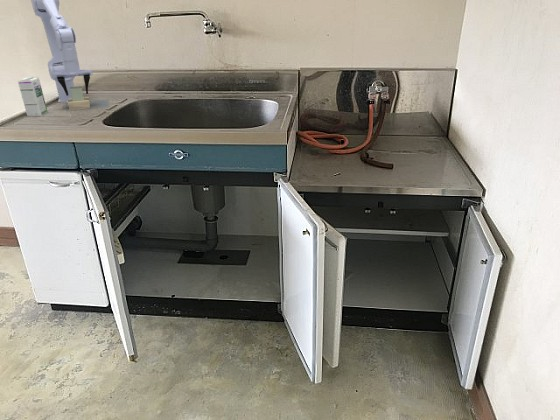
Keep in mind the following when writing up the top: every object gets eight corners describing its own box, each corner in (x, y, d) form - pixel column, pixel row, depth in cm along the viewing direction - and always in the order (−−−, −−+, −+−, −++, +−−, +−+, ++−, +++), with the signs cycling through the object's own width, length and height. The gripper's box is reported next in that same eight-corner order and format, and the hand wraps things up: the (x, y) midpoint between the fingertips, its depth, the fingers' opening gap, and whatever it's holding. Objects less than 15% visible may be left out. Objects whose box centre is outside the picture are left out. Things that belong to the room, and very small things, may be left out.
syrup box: (41, 117, 186) (32, 79, 180) (26, 117, 186) (17, 80, 180) (48, 113, 191) (39, 76, 185) (33, 113, 191) (24, 77, 185)
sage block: (72, 99, 197) (69, 87, 195) (83, 98, 199) (81, 86, 197) (72, 101, 194) (70, 89, 191) (84, 100, 195) (81, 88, 193)
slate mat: (66, 104, 204) (66, 103, 204) (107, 100, 209) (107, 99, 209) (65, 112, 192) (65, 111, 192) (109, 108, 197) (109, 106, 197)
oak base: (69, 105, 200) (68, 98, 198) (89, 103, 202) (88, 96, 201) (69, 110, 193) (68, 102, 192) (90, 108, 196) (88, 100, 194)
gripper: (50, 63, 184) (58, 98, 190) (89, 60, 188) (96, 94, 194) (51, 60, 190) (58, 94, 196) (89, 57, 194) (95, 91, 200)
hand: (77, 94), depth 195 cm, fingers open, 7 cm apart
